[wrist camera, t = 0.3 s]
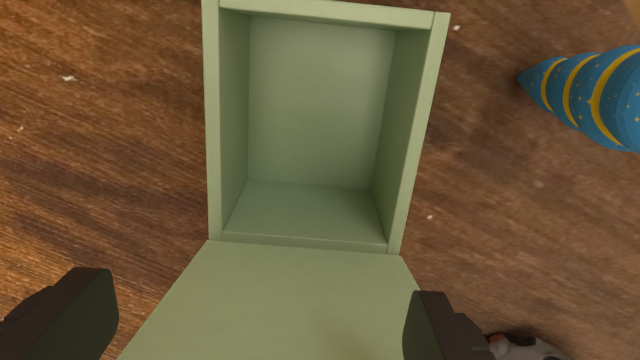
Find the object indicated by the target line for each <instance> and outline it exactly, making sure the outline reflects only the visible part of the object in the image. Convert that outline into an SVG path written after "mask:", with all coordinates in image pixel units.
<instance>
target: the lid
mask: <svg viewBox="0 0 640 360" xmlns="http://www.w3.org/2000/svg"><path fill="white" fill-rule="evenodd" d="M414 290H420V289H419V287H418V285H417V283H416V282H415V280H414V278H413V276H412V275H411V273H410V271H409V269H408V268H407V266H406V264H405V262H404V260H403V259H402V257H401V256H399V255H387V254H374V253H361V252H349V251H336V250H324V249H311V248H298V247H286V246H273V245H261V244H248V243H235V242H223V241H210V240H207V241H206V242H205V243H204V245H203V246H202V247H201V249H200V250H199V251H198V253H197V254H196V255H195V257H194V258H193V259H192V260H191V262H190V263H189V264H188V266H187V267H186V268H185V270H184V271H183V272H182V274H181V275H180V276H179V278H178V279H177V280H176V281H175V283H174V284H173V285H172V287H171V288H170V289H169V291H168V292H167V293H166V295H165V296H164V297H163V298H162V300H161V301H160V302H159V304H158V305H157V306H156V308H155V309H154V310H153V312H152V313H151V314H150V315H149V317H148V318H147V319H146V321H145V322H144V323H143V325H142V326H141V327H140V329H139V330H138V331H137V333H136V334H135V335H134V336H133V338H132V339H131V340H130V342H129V343H128V344H127V346H126V347H125V348H124V350H123V351H122V352H121V353H120V355H119V356H118V357H117V359H116V360H404V357H403V351H402V334H403V329H404V324H405V320H406V316H407V312H408V308H409V303H410V299H411V295H412V293H413V291H414Z"/></svg>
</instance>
